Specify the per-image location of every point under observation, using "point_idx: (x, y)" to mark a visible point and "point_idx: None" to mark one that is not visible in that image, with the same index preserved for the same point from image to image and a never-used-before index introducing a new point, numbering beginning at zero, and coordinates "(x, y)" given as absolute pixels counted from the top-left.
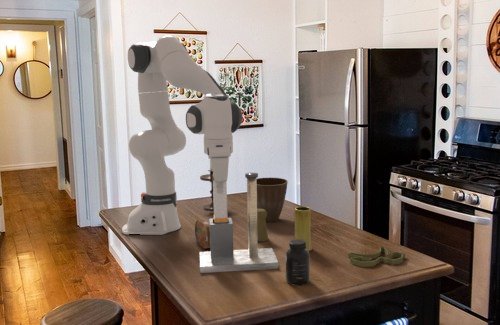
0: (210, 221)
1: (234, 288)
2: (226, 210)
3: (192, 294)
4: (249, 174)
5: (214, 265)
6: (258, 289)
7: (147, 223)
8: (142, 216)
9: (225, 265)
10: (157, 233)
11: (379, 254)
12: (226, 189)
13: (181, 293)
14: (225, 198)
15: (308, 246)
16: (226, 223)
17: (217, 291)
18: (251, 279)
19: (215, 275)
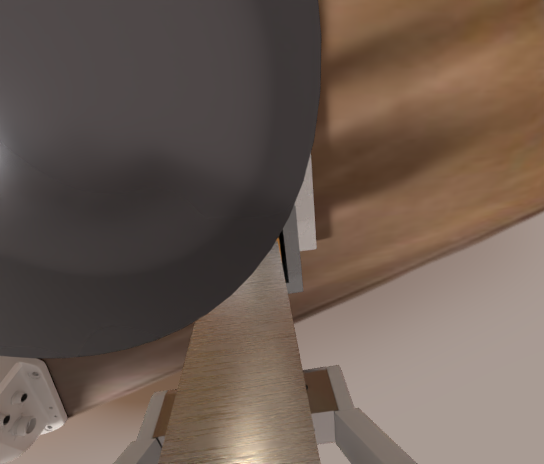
0: None
1: (424, 152)
2: (281, 262)
3: (431, 239)
4: (167, 198)
5: (311, 216)
6: (448, 85)
7: (21, 412)
8: (10, 440)
9: (312, 188)
10: (45, 372)
11: None
12: (301, 366)
13: (420, 260)
14: (291, 314)
15: None
16: (289, 232)
17: (431, 191)
18: (375, 107)
19: (332, 205)
